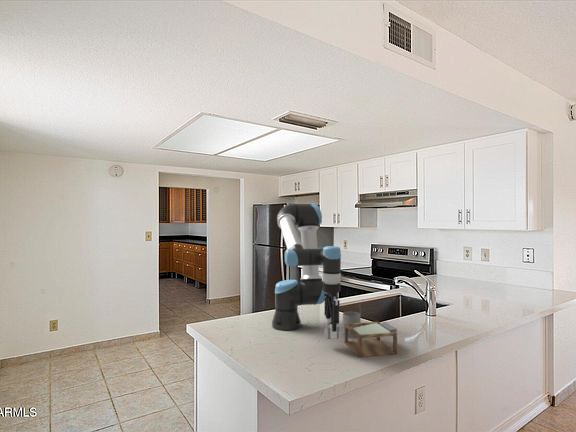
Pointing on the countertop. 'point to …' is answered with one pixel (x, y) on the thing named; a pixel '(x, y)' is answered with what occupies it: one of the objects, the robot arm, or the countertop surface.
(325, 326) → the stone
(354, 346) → the frame
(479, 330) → the countertop surface
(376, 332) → the trapdoor
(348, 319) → the cup
